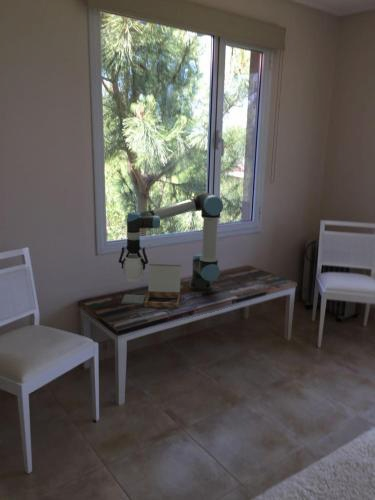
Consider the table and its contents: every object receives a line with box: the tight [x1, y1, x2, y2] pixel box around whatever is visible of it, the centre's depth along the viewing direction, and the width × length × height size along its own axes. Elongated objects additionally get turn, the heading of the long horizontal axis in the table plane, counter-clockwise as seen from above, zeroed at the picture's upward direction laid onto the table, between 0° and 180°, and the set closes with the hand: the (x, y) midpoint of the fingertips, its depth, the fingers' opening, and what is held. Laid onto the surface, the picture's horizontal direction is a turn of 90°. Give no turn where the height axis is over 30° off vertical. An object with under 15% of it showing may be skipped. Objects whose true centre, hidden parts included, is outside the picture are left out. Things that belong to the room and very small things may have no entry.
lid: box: [148, 263, 182, 293], centre depth 263 cm, size 20×17×1 cm
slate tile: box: [120, 294, 147, 306], centre depth 257 cm, size 13×13×1 cm
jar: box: [124, 254, 143, 283], centre depth 251 cm, size 11×10×15 cm
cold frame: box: [144, 291, 181, 309], centre depth 255 cm, size 20×17×3 cm
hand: (133, 274), depth 252 cm, fingers closed on jar, 10 cm apart
